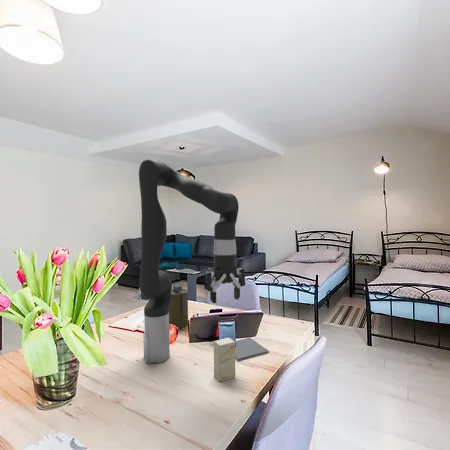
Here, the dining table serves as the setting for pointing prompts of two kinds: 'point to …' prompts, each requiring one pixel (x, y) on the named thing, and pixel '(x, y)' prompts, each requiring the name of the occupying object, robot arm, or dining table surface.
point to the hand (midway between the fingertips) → (225, 300)
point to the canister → (179, 307)
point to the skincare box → (224, 359)
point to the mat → (248, 349)
